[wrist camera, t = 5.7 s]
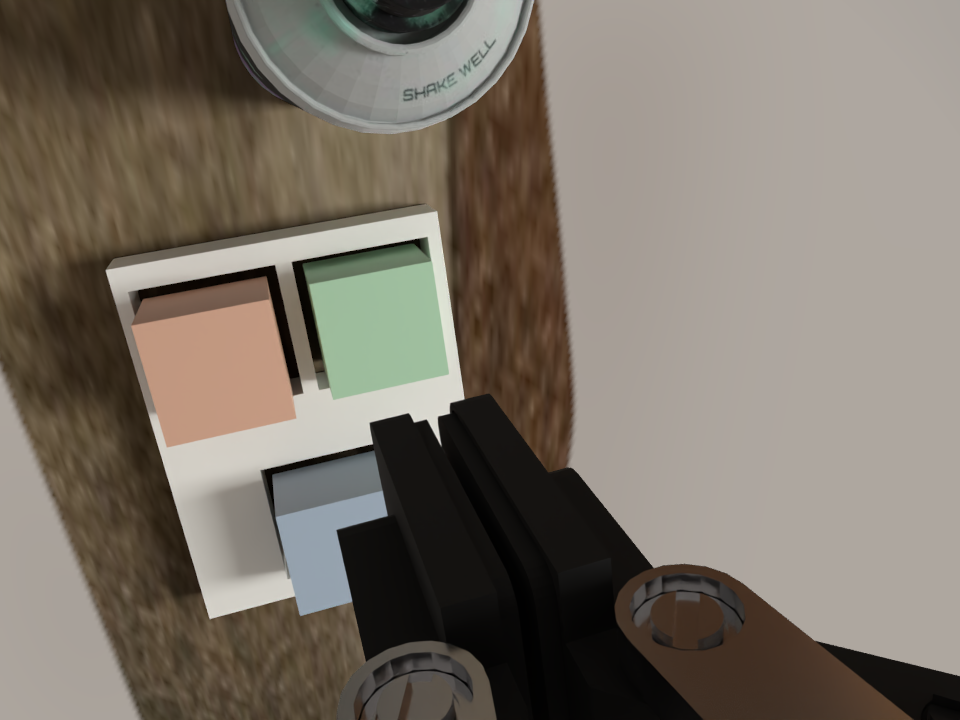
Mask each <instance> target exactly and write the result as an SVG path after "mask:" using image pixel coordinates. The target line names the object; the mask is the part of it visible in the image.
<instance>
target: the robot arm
mask: <svg viewBox="0 0 960 720" xmlns="http://www.w3.org/2000/svg"><path fill="white" fill-rule="evenodd" d="M438 428H439V434H440V441H441V445H440V443H439V441H438V439H437V437H436V435H435V434H434V432H433V430H432V428H431V426H430V424H429V422H428V421H427V419H426V420H422V421H418V422H414V421H413V419H412V417H411V415H410V414H409V413H407V414H403V415H399V416H394V417H390V418H386V419H382V420H378V421H374V422H370V431H371V437H372V442H373V447H374V451H375V456H376V461H377V466H378V471H379V476H380V481H381V486H382V491H383V496H384V501H385V505H386V510H387V515H388V516H386V517H382V518H378V519H374V520H371V521H367V522H363V523H360V524H356V525H352V526H348V527H345V528H341V529H337V530H336V531H337V536H338V540H339V544H340V549H341V553H342V558H343V562H344V567H345V571H346V575H347V580H348V584H349V589H350V593H351V598H352V602H353V606H354V611H355V615H356V620H357V624H358V628H359V633H360V637H361V642H362V646H363V651H364V655H365V659H366V663H365V664H364V665H363V666H361V667H360V668H359V669H358V670H357V671H356V672H355V673H354V674H353V675H352V676H351V678H350V679H349V681H348V683H347V684H346V686H345V688H344V689H343V691H342V692H341V696H340V701H339V705H338V709H337V720H960V676H957V675H953V674H949V673H944V672H941V671H936V670H932V669H928V668H924V667H920V666H916V665H912V664H908V663H904V662H900V661H895V660H891V659H887V658H883V657H879V656H874V655H871V654H867V653H863V652H859V651H854V650H850V649H846V648H842V647H838V646H834V645H830V644H825V643H821V642H818V641H814V640H813V639H812V638H811V637H809V636H808V635H807V634H806V633H804V632H803V631H802V630H800V629H799V628H798V627H797V626H796V625H794V624H793V623H792V622H791V621H789V620H788V619H787V618H786V617H784V616H783V615H782V614H781V613H779V612H778V611H777V610H776V609H774V608H773V607H771V606H770V605H769V604H768V603H767V602H766V601H764V600H763V599H762V598H761V597H759V596H758V595H757V594H756V593H754V592H753V591H752V590H750V589H749V588H748V587H747V586H746V585H744V584H743V583H741V582H740V581H738V580H736V579H735V578H733V577H731V576H730V575H728V574H727V573H724V572H721V571H718V570H715V569H712V568H709V567H706V566H698V565H690V564H675V565H663V566H660V567H657V568H653V567H652V565H651V564H650V563H649V562H648V560H647V559H646V558H645V557H644V555H643V554H642V553H641V552H640V550H639V549H638V548H637V547H636V545H635V544H634V543H633V542H632V540H631V539H630V538H629V537H628V536H627V534H626V533H625V532H624V530H623V529H622V528H621V527H620V525H619V524H618V523H617V522H616V520H615V519H614V518H613V517H612V516H611V514H610V513H609V512H608V511H607V509H606V508H605V507H604V506H603V504H602V503H601V502H600V501H599V499H598V498H597V497H596V496H595V494H594V493H593V492H592V491H591V489H590V488H589V487H588V486H587V484H586V483H585V482H584V481H583V480H582V478H581V477H580V476H579V474H578V473H577V472H576V471H575V470H574V469H572V468H564V469H560V470H557V471H553V472H549V473H548V472H547V470H546V469H545V468H544V466H543V465H542V464H541V462H540V461H539V459H538V458H537V457H536V455H535V454H534V453H533V451H532V450H531V449H530V447H529V446H528V445H527V443H526V442H525V440H524V439H523V438H522V436H521V435H520V434H519V432H518V431H517V430H516V428H515V427H514V426H513V424H512V423H511V421H510V420H509V419H508V417H507V416H506V415H505V413H504V412H503V411H502V409H501V408H500V407H499V405H498V404H497V402H496V401H495V400H494V398H493V397H492V396H491V395H490V394H485V395H481V396H477V397H473V398H468V399H464V400H460V401H456V402H452V403H450V414H446V415H442V416H438Z"/></svg>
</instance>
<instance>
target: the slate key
mask: <svg viewBox="0 0 960 720" xmlns="http://www.w3.org/2000/svg"><path fill="white" fill-rule="evenodd" d="M272 478H273V491H274V504H275V517H276V521H277V525H278V529H279V533H280V537H281V541H282V545H283V549H284V553H285V557H286V561H287V565H288V569H289V573H290V577H291V581H292V585H293V589H294V593H295V597H296V601H297V605H298V609H299V613H300V616H302V615H305V614H309V613H313V612H316V611H320V610H324V609H327V608H331V607H335V606H338V605H342V604H346V603H349V602H352V598H351V593H350V589H349V584H348V580H347V575H346V571H345V567H344V562H343V558H342V553H341V549H340V544H339V540H338V536H337V531H336V530H337V529H341V528H345V527H348V526H352V525H356V524H360V523H363V522H367V521H371V520H374V519H378V518H382V517H386V516H388V515H387V510H386V505H385V501H384V496H383V491H382V486H381V481H380V476H379V471H378V466H377V461H376V456H375V451H370V452H366V453H362V454H357V455H353V456H349V457H345V458H340V459H336V460H332V461H328V462H324V463H319V464H315V465H311V466H307V467H302V468H298V469H294V470H290V471H285V472H281V473H277V474H273V475H272Z"/></svg>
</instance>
